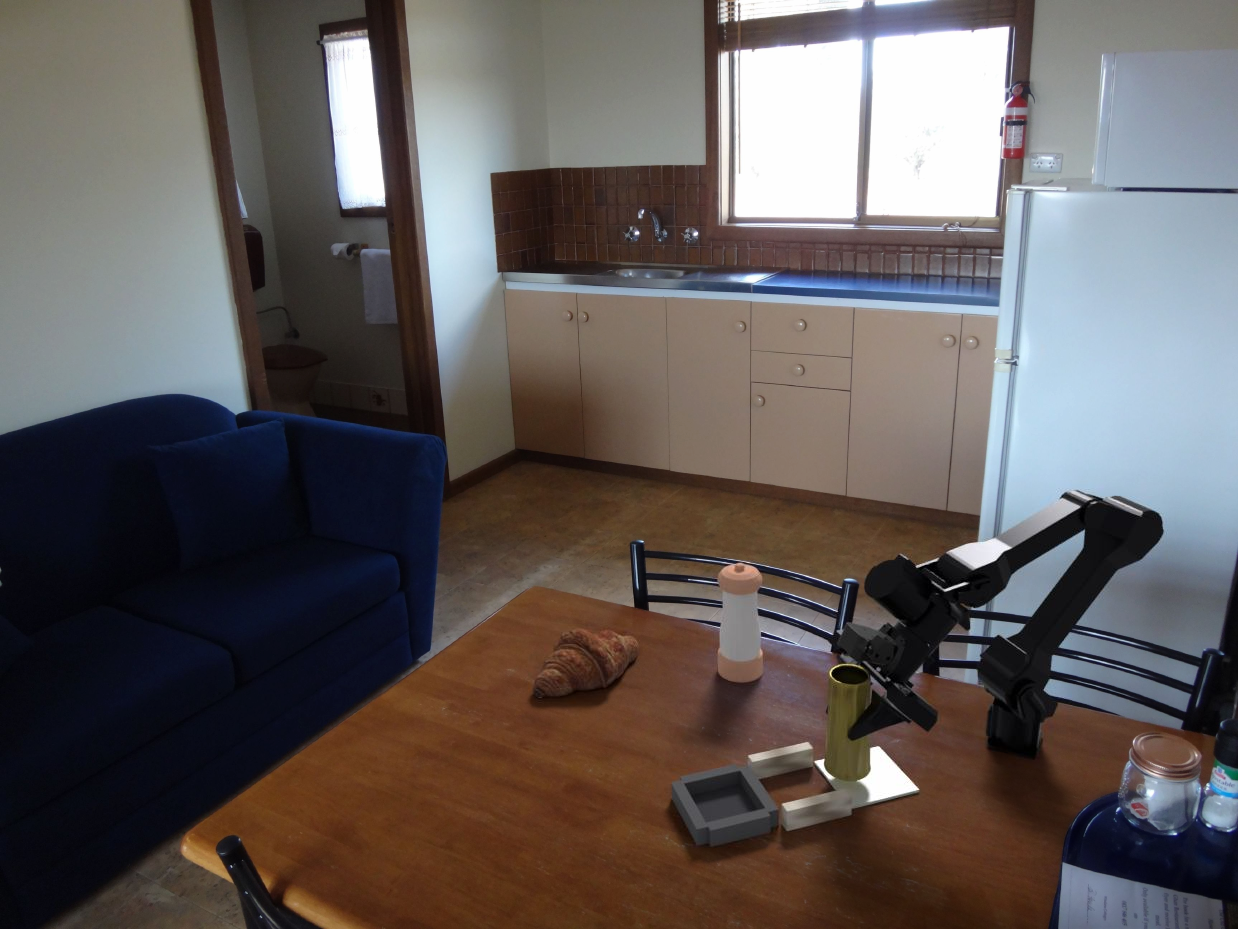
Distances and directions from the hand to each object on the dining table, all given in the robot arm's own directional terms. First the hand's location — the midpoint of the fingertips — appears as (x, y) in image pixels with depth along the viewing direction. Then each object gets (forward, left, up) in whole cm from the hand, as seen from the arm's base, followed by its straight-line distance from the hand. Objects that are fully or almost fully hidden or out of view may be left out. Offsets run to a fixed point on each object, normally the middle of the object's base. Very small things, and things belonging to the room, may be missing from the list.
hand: (838, 726), depth 124 cm
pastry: (+45, -10, -10) cm, 47 cm away
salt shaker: (+23, -21, -9) cm, 32 cm away
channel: (+4, +4, -9) cm, 11 cm away
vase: (-1, -1, -7) cm, 7 cm away
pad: (-3, -3, -9) cm, 10 cm away
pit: (+11, +12, -9) cm, 19 cm away
